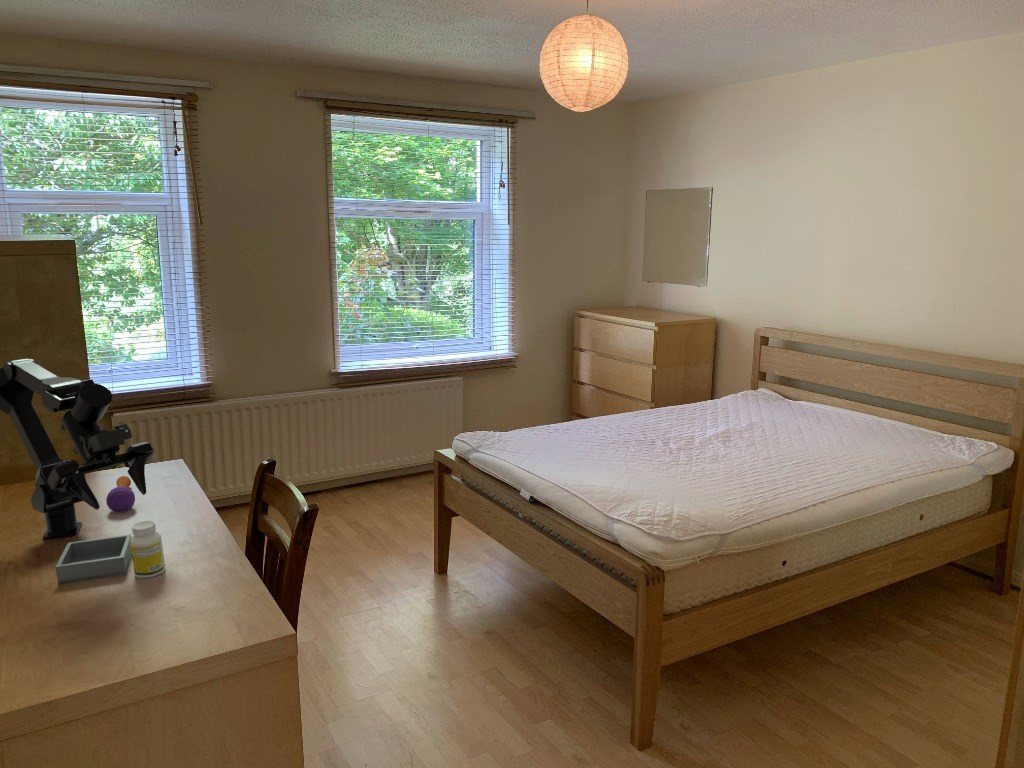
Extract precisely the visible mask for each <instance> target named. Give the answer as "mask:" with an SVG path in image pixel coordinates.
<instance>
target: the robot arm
mask: <svg viewBox="0 0 1024 768" xmlns="http://www.w3.org/2000/svg"><path fill="white" fill-rule="evenodd" d="M35 393H36V394H37V395H39V396H40V397H41V405H42V406H44V408H45V409H47V410H48V411H49V412H51V413H53V414H56V413H60V412H65V411H66V412H65V414H64V415H63V416H62V419H61V423H60V429H61V430H62V431H63V430H65V431H66V434H67V435H68V437H69V438H70V440H71V443H72V444H73V446H74V447H73V449H72V451H73V453H74V454H75V455H77V454H78V456H79V458H80V459H81V461H82V464H79V463H78V461H77V460H75V459H73V460H72V459H69V460H64V459H63V458H61V457H60V455H59V453H58V452H57V449H56V448H55V446H54V444H53V442H52V440H51V439H50V437H49V435H48V433H47V431H46V428H45V426H44V424H43V423H42V421H41V419H40V417H39V415H38V413H37V410H36V409H35V407H34V405H33V399H34V394H35ZM112 401H113V394H112V391H111V390H110V389H109V388H107V387H106V386H105V385H102V384H100V383H95V382H94V380H93V379H92V378H90V379H85V380H84V379H83V380H80V379H78V378H75V377H74V378H73V377H64V376H63V377H61V376H58V375H56V374H55V373H52V372H51V371H49V370H47V369H46V368H45V367H42V366H41V365H39V364H37V363H36V361H35V360H34V359H33V358H19V359H14V360H9V361H7V362H5V363H4V364H3V366H2V367H1V368H0V411H1V412H3V413H5V414H7V415H8V416H9V418H10V420H11V422H12V424H13V426H14V427H15V430H16V432H17V434H18V436H19V437H20V440H21V442H22V443H23V445H24V447H25V450H26V451H27V454H28V455H29V457H30V460H31V461H32V463H33V465H34V467H35V470H36V474H35V480H34V483H33V484H34V485H33V486H34V487H35V489H34V491H33V492H32V493H33V494H32V496H31V498H30V504H31V506H32V509H33V510H34V511H37V512H40V513H42V514H44V520H45V526H46V530H45V532H44V534H43V535H42V539H43V540H47V539H53V538H62V537H69V536H75V535H77V534H79V531H80V530H81V527H82V525H83V522H82V521H79V522H78V521H77V514H76V509H75V508H76V507H75V504H78V503H80V502H81V503H82V502H84V503H85V504H87V505H89V506H90V507H92V508H93V509H94V510H95V511H97V510H99V509H100V507H101V506H100V503H99V500H98V499H97V497H96V496H95V494H94V492H93V491H92V489H91V487H90V486H89V484H88V482H87V478H86V475H87V474H90V473H94V472H98V471H101V470H105V469H109V468H112V467H116V466H119V465H123V464H124V465H125V468H128V470H127V473H128V475H129V478H131V481H133V483H134V485H135V487H136V488H137V489H138V492H139V493H141V494H142V496H145V495H146V494H147V486H146V485H147V484H146V474H145V468H146V467H145V466H146V464H148V462H149V461H150V459H151V458H152V456H153V455H154V454H155V448H154V446H153V445H152V444H151V443H150V442H148V441H141V442H139V443H134V444H131V445H129V446H128V448H127V449H126V451H125V453H121V454H120V453H119V454H116V453H118V452H119V451H120V450H121V447H120V446H122V445H123V446H124V445H125V444H126V441H128V440H130V439H132V438H133V435H132V431H131V428H130V427H129V425H128V424H127V423H126V422H125V423H120V424H117V425H115V426H113V428H114V429H111V430H107V429H106V428H105V429H103V428H102V426H101V425H100V423H99V422H100V420H102V418H103V416H104V415H105V414H106V412H107V410H108V408H109V406H110V404H111V403H112Z"/></svg>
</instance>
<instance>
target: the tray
mask: <svg viewBox="0 0 1024 768" xmlns="http://www.w3.org/2000/svg"><path fill="white" fill-rule="evenodd" d="M132 537H133V536H132V534H130V533H129V534H122V535H116V536H108V537H102V538H101V537H100V538H93V539H85V540H79V541H72V542H68V543H67V544H66V546H65V548H64V550H63V551H62V554H61V556H60V557H59V559H58V561H57V564H56V566H55V572H56V574H55V575H56V579H57V585H62V584H69V583H76V582H82V581H88V580H96V579H102V578H103V579H104V578H108V577H117V576H123V575H126V574H127V572H128V569H129V565H130V562H131V560H132V553H131V547H130V540H131V538H132Z"/></svg>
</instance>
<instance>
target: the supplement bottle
mask: <svg viewBox="0 0 1024 768" xmlns="http://www.w3.org/2000/svg"><path fill="white" fill-rule="evenodd" d="M131 530H132V534H133V536H132V538H131V540H130V547H131V553H132V556H131V560H132V565H133V566H132V567H133V572H134V575H135V577H137V578H139V579H149V578H154V577H156V576H159V575H161V574H162V573H164V571H165V570H166V563H165V556H164V550H163V549H164V548H163V547H164V546H163V541H162V536H161V533H159V532H157V528H156V523H155V522H154V521H153V520H145V521H144V520H143V521H140V522H137V523H134V524H133V525H132V526H131Z"/></svg>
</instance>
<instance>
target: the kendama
mask: <svg viewBox="0 0 1024 768" xmlns="http://www.w3.org/2000/svg"><path fill="white" fill-rule="evenodd" d="M130 478H131V477H130V476H129V477H128V476H126V475H121V476H120V477H118V478H117V479H116V487H114V488H112V489H110V491H109V492H108V493H107V497H106V505H107V507H108V509H109V510H111V511H112V512H114V513H119V514H120V513H126V512H127V511H129V510H131V509H132V508H133V507H134V504H135V501H136V495H135V493H134V491H133V490H132V489H130V487H131V485H132V479H130Z"/></svg>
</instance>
